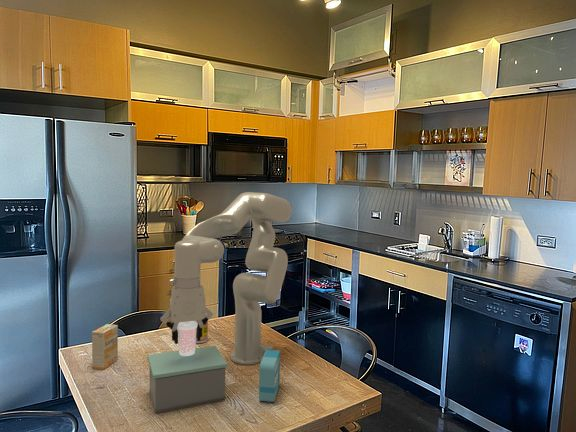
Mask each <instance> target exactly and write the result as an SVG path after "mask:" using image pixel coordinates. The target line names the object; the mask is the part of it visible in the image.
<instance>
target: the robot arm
mask: <svg viewBox="0 0 576 432" xmlns="http://www.w3.org/2000/svg"><path fill="white" fill-rule="evenodd" d="M292 212H293V209H292V206H291V204H290V202H289V201H288V200H287V199H286V198H283V197H279V196H277V195H274V194H270V193H267V192H256V191H255V192H254V191H245V192H242V193H240V194H239V195H238V196H237V197H236V198H235V199H234V200H232V202H231V203H230V204H229V205H228V206H227V207H226V208H225V209H224V210H223V211H222V212H220V213H219V214H216V215H214V216H212V217H210V218H208V219H206V220H204V221H201V222H199V223H198V224H196V225H194V226H193V227H192V228H191V229H190V230H189V231H188V232H187V233H186V234H185V235H184V236H183V238H182V239H181V240H179V241H177V242H176V243H175V244H174V275H173V278H172V279H169V285H172V287H171V292H170V299H169V307H168V309H167V310H166V312H165V313H163V314H162V316H161V317H160V318H159V319H160V321H161V322H162V323H163V324H164V325H166V326H167V327H168V328H169V329H170V330H171V341H173V342H174V344H175V345H177V344H179V340H178V329H177V326H178V324H179V323H181V322H190V321H197V323H198V325H197V330H196V338H197V340H198V341H200V337H202V328H203V327H204V325H205V324H206V322H207V321H209V320H210V319H211V318H212V317H213V315H214V313H213V311H211V310H210V309H209V307H207V306H206V299H205V298H206V297H205V289H204V286H203V285H201V268H202V267H201V264H211V263H216V262H218V261H220V260H221V259H222V257H223V256H224V253H225V247H224V244H223V243H222V242H221V240H219V239H217V238H223V237H228V236H232V235H235V234H238V233H239V232H240V231H241V229H243V227H244V226H245V225H246V224H247V223H248V222H249V221H251V223H252V227H253V228H252V229H253V232H252V237H251V241H250V242H249V243H250V244H249V247H248V250H247V253H246V257H245V266H246V268H248V269H250V270H251V271H255V272H260V273H267V274H266V275H264V274H263V275H262V274H258V273H253V272H252V273H251V272H242V273H239V274H238V275H236V276H235V278H234V279H233V283H232V290H233V291H232V292H233V297H234V306H235V307H234V309H235V315H234V316H235V318H234V322H235V324H234V350H233V351H232V352H231V353H230V356H229V357H230V360H231V361H232V362H234V363H235V364H239V365H255V364H258V363H259V364H260V363H261V360H262V358H263V356H264V354H265V351H266V350H274V346H273V345H271V344H270V345H268V344H267V343H265V344H262V343H261V341H262V339H261V338H262V308H261V305H260V304H261V303H263V304H267V305H268V304H269V305H270V304H271V305H272V304H274V303H276V301H277V300H278V298H279V297H280V293H281V290H282V286H283V283H284V280H285V276H286V274H287V273H286V272H287V268H288V261H289V259H288V258H289V257H288V254H287V253H286V251H285V250H284V249H283V248H279V247H274V243H275V242H276V241H275V240H276V233H275V229H274V228H273V225H272V223H273V222H274V223H286V222H287V221H288V220H289V219H290V218H291V216H292ZM271 222H272V223H271ZM169 317H170V320H171V321H170V320H169V319H168V318H169Z"/></svg>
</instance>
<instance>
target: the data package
mask: <svg viewBox="0 0 576 432" xmlns="http://www.w3.org/2000/svg"><path fill="white" fill-rule="evenodd" d="M280 372H281V350H274V349H273V350H266V351H265V353H264V356H263V358H262V360H261V362H259V374H258V375H259V378H258V379H259V380H258V381H259V382H258V401H260V402H269V403H274V402H275V400H276V397H277V394H278V390H279V388H280V380H281V379H280V377H281V376H280V374H281V373H280Z"/></svg>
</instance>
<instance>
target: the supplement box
mask: <svg viewBox="0 0 576 432" xmlns="http://www.w3.org/2000/svg"><path fill="white" fill-rule="evenodd" d="M118 328H119V326H118V324H110V323H107V324H104V325H103V326H101V327H99V328H96V329H95V330H93V331H91V355H92V356H91V363H92V365H91V367H92V369H94V370H95V369H96V370H101V371H104V370H105V369H107V368H108V367H109V366H111V365H112V364H114V363H115V362H117V361H118V359H119V358H118V357H119V355H118V353H119V352H118V351H119V350H118V349H119V348H118V346H119V344H118V343H119V338H118V337H119V334H118V333H119V332H118V331H119V329H118Z"/></svg>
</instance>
